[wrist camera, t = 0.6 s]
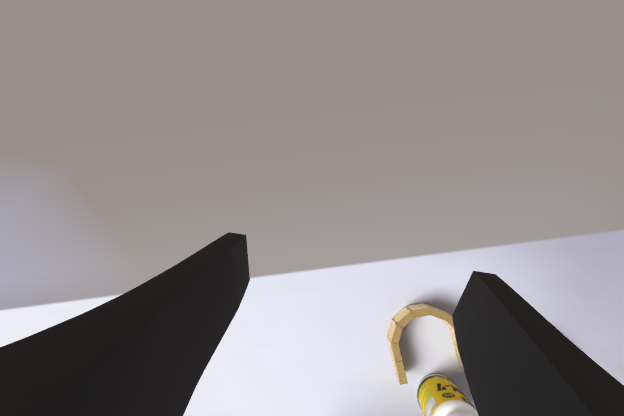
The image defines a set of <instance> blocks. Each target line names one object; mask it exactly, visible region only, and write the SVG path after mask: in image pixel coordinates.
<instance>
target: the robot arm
mask: <svg viewBox="0 0 624 416" xmlns="http://www.w3.org/2000/svg"><path fill="white" fill-rule="evenodd" d="M249 281H250V278H249V266H248V254H247V241H246V235H241V234H236V233H227V234H225V235H224V236H222V237H220V238H219V239H217V240H216V241H214V242H212V243H210V244H209V245H207V246H206V247H204V248H203V249H201V250H200V251H198V252H196V253H195V254H193V255H191V256H190V257H188V258H187V259H185V260H183V261H181V262H180V263H178V264H177V265H175V266H173V267H172V268H170V269H168V270H166V271H165V272H163V273H161V274H159V275H158V276H156V277H154V278H152V279H150V280H149V281H147V282H145V283H143V284H142V285H140V286H138V287H136V288H134V289H132V290H131V291H129V292H127V293H125V294H123V295H121V296H119V297H117V298H115V299H113V300H111V301H109V302H106V303H104V304H102V305H100V306H98V307H96V308H94V309H92V310H90V311H88V312H85V313H83V314H81V315H79V316H76V317H74V318H72V319H69V320H67V321H64V322H62V323H60V324H57V325H55V326H53V327H50V328H48V329H45V330H43V331H41V332H38V333H36V334H34V335H31V336H29V337H26V338H24V339H21V340H19V341H16V342H13V343H11V344H8V345H6V346H3V347H0V416H183V414H184V412H185V410H186V408H187V405H188V403H189V401H190V399H191V396H192V394H193V392H194V390H195V387H196V385H197V383H198V381H199V379H200V377H201V375H202V374H203V372H204V370H205V368H206V366H207V364H208V363H209V361H210V359H211V357H212V355H213V353H214V352H215V350H216V348H217V346H218V344H219V343H220V341H221V339H222V337H223V335H224V334H225V332H226V330H227V328H228V326H229V325H230V323H231V321H232V319H233V317H234V315H235V313H236V312H237V310H238V308H239V306H240V303H241V301H242V298H243V296H244V293H245V291H246V288H247V286H248V283H249ZM452 319H453V325H454V332H455V337H456V342H457V347H458V352H459V355H460V358H461V362H462V365H463V368H464V371H465V375H466V378H467V381H468V384H469V387H470V390H471V394H472V397H473V400H474V403H475V406H476V409H477V413H478V416H624V386H623V385H622V384H621V383H620V382H618V381H617V380H616V379H615V378H614V377H612V376H611V375H610V374H609V373H608V372H606V371H605V370H604V369H603V368H602V367H600V366H599V365H598V364H597V363H595V362H594V361H593V360H592V359H591V358H590V357H588V356H587V355H586V354H585V353H584V352H583V351H581V350H580V349H579V348H578V347H577V346H576V345H574V344H573V343H572V342H571V341H570V340H569V339H568V338H566V337H565V336H564V335H563V334H562V333H561V332H560V331H559V330H557V329H556V328H555V327H554V326H553V325H552V324H551V323H550V322H549V321H547V320H546V319H545V318H544V317H543V316H542V315H541V314H540V313H539V312H537V311H536V310H535V309H534V308H533V307H532V306H531V305H530V304H529V303H527V302H526V301H525V300H524V299H523V298H522V297H521V296H520V295H519V294H518V293H516V292H515V291H514V290H513V289H512V288H511V287H510V286H509V285H507V284H506V283H505V282H504V281H503V280H502V279H500V278H499V277H498V276H497V275H495V274H490V273H483V272H477V271H473V273H472V275H471V277H470V279H469V281H468V284H467V286H466V288H465V290H464V292H463V294H462V296H461V298H460V301H459V303H458V305H457V307H456V309H455V311H454V313H453V316H452Z"/></svg>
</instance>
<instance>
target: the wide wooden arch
mask: <svg viewBox="0 0 624 416" xmlns="http://www.w3.org/2000/svg"><path fill="white" fill-rule="evenodd" d="M427 315H432V316H435V317H437V318H440V319H442V320H443V321H444V322H445V323H446V324H447V325H448V326H449V327H450V331H451V335H452V339H453V342H454V346H455V350H456V354H457V357H458V361H459V364H460V365H461V366H462V367H463V365H462V362H461V358H460V355H459V352H458V347H457V342H456V337H455V332H454V325H453V319H452V316H451V315H450V314H449V313H447V312H445V311H444V310H442V309H440V308H437V307H434V306H431V305H428V304H426V303H420V304H415V305H409V306H407V308H406V307H404V308H403V309H402V310H401V311H400V312H399V313H397V314H396V315H395V316H394V317H393V318H394V319H392V321H391V325H390V328H389V331H388V342H389V346H390V350H391V355H392V359H393V364H394V368H395V373H396V376H397V378H398V380H399V383H400V385H401V384H407V378H406V374H405V370H404V365H403V361H402V357H401V352H400V348H399V340H400V337H401V333H402V330H403V328H404V327H405V326H406V325H407V324H408V323H409V322H410V321H411V320H413V319H414V318H416V317H421V316H427Z"/></svg>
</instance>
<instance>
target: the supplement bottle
mask: <svg viewBox="0 0 624 416" xmlns="http://www.w3.org/2000/svg"><path fill="white" fill-rule="evenodd" d="M417 400H418V403H419V405H420V408H421V410H422V412H423V414H424V416H478V413H477V409H476V408H475V407H474V406H473V405H472V404H471V402H470V401H469V400H468V399H467V398H466V396H465V395H464V394H463V393H462V392H461V390H460V389H459V388H458V387H457V386H456V384H455V383H454V382H453V381H452V380H451V379H449V378H448V377H446V376H444V375H440V374H430V375H428V376H426V377H424V378H423V379H422V380H421V381H420V383H419V385H418V388H417Z"/></svg>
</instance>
